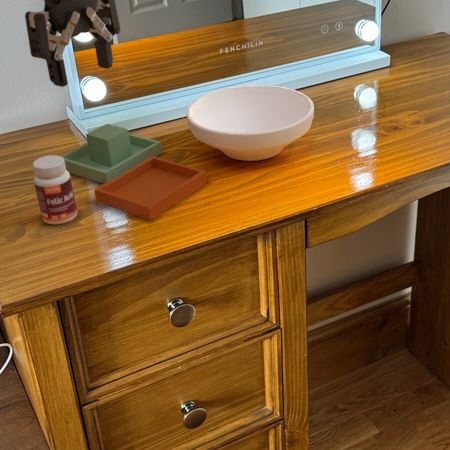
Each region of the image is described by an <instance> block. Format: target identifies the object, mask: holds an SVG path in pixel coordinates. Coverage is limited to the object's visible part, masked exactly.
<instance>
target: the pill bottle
mask: <svg viewBox="0 0 450 450" xmlns="http://www.w3.org/2000/svg"><path fill="white" fill-rule="evenodd" d="M61 156H62V155H56V154H51V155H43V156H41V157H38V158H36V159H34V161H33V162H32V168H33V173H34V176H33V185H34V189H35V193H36V197H37V202H38V207H39V211H40V215H41V219H42V221H43V222H45V224H49V225H63V224H66V223H69V222H71V221H73V220H74V219H76V217H77V216H78V208H77V202H76V197H75V193H74V188H73V187H74V186H73V182H72V177H71V173H69V172H68V171H67V170H66V166H65V161H64V158H63V157H61Z"/></svg>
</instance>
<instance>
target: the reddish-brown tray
mask: <svg viewBox="0 0 450 450" xmlns="http://www.w3.org/2000/svg"><path fill="white" fill-rule="evenodd" d="M206 184H208V178H207V171H206V170H204V169H201V168H196V167H194V166H190V165H185V164H182V163H179V162H176V161H172V160H169V159H166V158H165V159H164V158H163V157H159V156H157V157H154V156H152V157H151V158H149V159H147V160H145V161H144V162H142V163H140V164H138V165H137V166H135V167H133V168H131V169H130V170H128V171H126V172H124V173H123V174H121V175H119V176H117V177H116V178H114V179H112V180H111V181H109V182H107V183H105V184H102V185H100V186H98V187H96V188H95V189H94V195H95V201H96V203H99V204H102V205H104V206H108V207H109V208H114V209H116V210H120V211H122V212H124V213H128V214H131V215H134V216H137V217H140V218H143V219H146V220H149V221H152V220H154V219H155V218H156V217H158V216H160V215H161V214H162V213H164V212H166V211H167V210H169V209H170V208H172V207H173V206H175V205H177V203H179V202H181V201H183V200H184V199H185V198H187V197H189V196H190V195H191V194H193V193H195V192H196V191H198V190H199V189H200V188H202V187H203V186H205V185H206Z"/></svg>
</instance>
